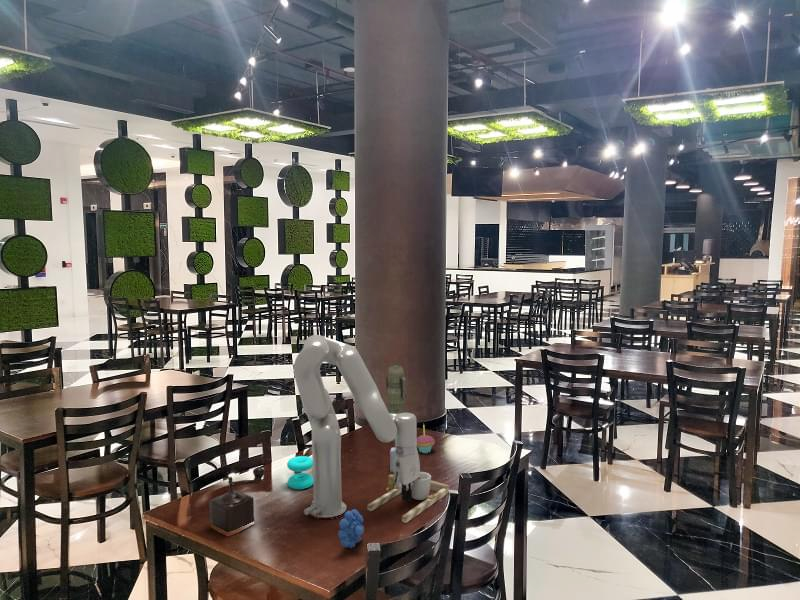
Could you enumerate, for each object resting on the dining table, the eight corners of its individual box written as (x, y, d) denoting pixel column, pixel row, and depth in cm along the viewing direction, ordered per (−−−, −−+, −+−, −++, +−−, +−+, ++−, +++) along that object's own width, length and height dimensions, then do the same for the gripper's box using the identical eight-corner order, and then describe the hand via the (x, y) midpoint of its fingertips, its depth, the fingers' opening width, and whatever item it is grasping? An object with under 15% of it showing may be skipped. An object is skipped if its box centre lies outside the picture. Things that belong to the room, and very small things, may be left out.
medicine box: (410, 468, 232) (410, 447, 231) (409, 472, 227) (409, 451, 226) (391, 467, 232) (391, 447, 232) (390, 472, 228) (389, 451, 227)
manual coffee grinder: (229, 538, 177) (227, 482, 176) (209, 527, 184) (206, 474, 183) (269, 519, 189) (267, 467, 188) (248, 510, 196) (247, 459, 195)
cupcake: (413, 449, 253) (412, 423, 252) (430, 447, 256) (430, 421, 254) (419, 456, 245) (419, 428, 244) (437, 453, 247) (437, 426, 246)
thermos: (392, 434, 274) (392, 362, 270) (412, 439, 266) (411, 365, 263) (380, 438, 267) (379, 365, 264) (400, 444, 260) (399, 368, 256)
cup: (404, 503, 199) (404, 481, 199) (398, 494, 207) (399, 473, 206) (433, 500, 202) (433, 478, 201) (427, 491, 209) (427, 470, 209)
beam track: (406, 523, 186) (406, 505, 185) (358, 507, 197) (358, 490, 197) (449, 493, 208) (449, 477, 208) (404, 480, 220) (403, 465, 219)
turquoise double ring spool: (319, 457, 218) (302, 466, 209) (319, 482, 218) (303, 492, 210) (298, 453, 222) (281, 461, 213) (298, 477, 223) (282, 487, 214)
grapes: (352, 560, 164) (351, 521, 163) (333, 554, 167) (332, 515, 166) (374, 542, 174) (373, 504, 173) (356, 537, 177) (355, 500, 176)
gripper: (402, 457, 190) (402, 510, 191) (426, 444, 201) (427, 494, 203) (384, 453, 194) (385, 504, 196) (409, 440, 206) (410, 489, 208)
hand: (406, 499), depth 199 cm, fingers closed
